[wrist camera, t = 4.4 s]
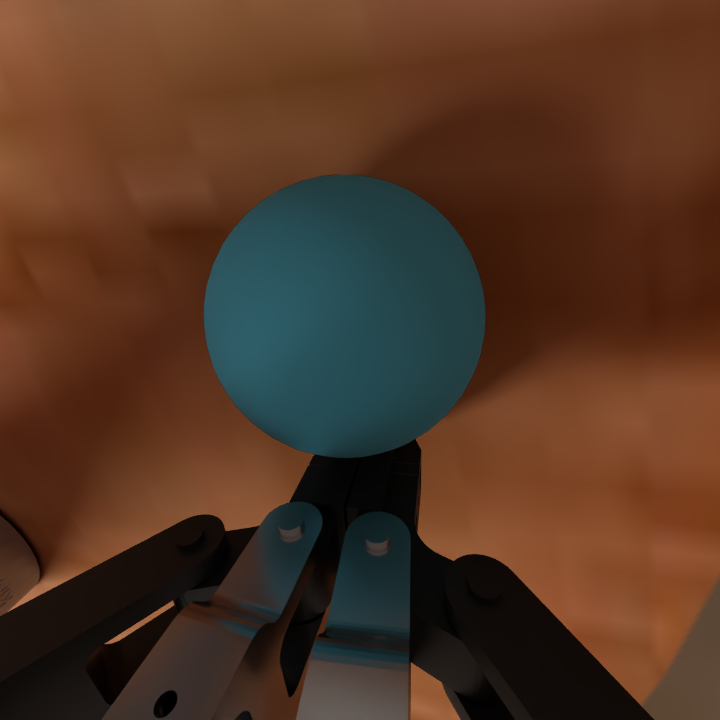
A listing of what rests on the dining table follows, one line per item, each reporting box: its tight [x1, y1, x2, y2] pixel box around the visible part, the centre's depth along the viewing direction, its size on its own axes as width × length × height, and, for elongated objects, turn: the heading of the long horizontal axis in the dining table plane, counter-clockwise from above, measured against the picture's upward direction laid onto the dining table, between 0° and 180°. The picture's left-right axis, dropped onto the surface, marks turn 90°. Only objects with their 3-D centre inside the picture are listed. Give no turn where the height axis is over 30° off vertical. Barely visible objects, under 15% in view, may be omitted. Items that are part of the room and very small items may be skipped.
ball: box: [204, 175, 486, 458], centre depth 8 cm, size 6×6×6 cm
